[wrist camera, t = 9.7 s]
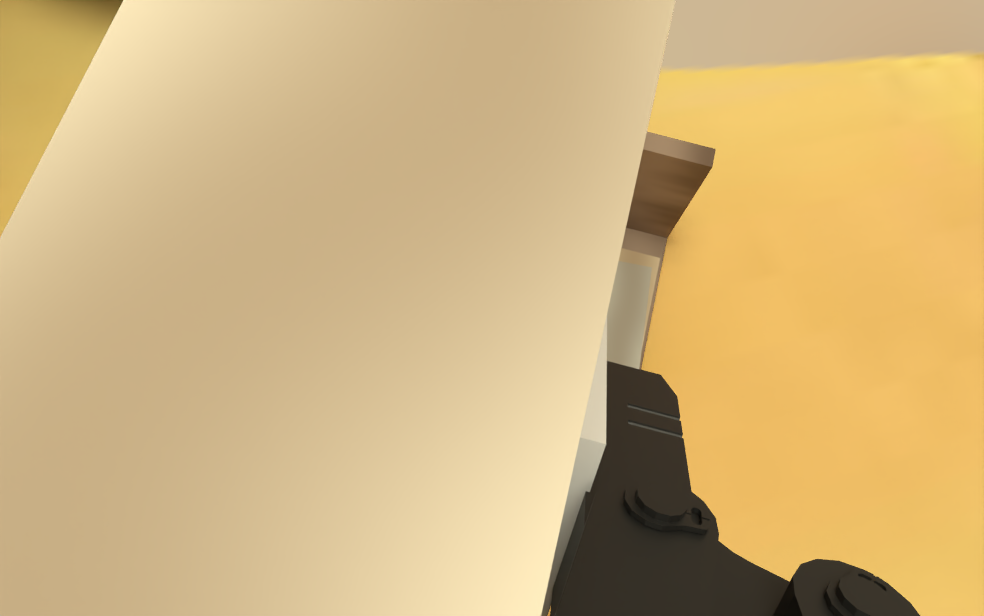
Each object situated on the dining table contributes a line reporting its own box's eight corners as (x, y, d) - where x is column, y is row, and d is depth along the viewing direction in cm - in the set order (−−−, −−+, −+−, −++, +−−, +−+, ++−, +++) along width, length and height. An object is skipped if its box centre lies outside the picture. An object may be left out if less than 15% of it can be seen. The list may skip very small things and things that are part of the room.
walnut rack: (385, 419, 42) (372, 374, 34) (462, 169, 47) (467, 76, 39) (614, 480, 42) (659, 451, 33) (667, 222, 47) (717, 140, 39)
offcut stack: (533, 418, 42) (539, 406, 39) (575, 246, 45) (583, 226, 43) (619, 441, 42) (630, 431, 39) (654, 267, 45) (667, 248, 43)
